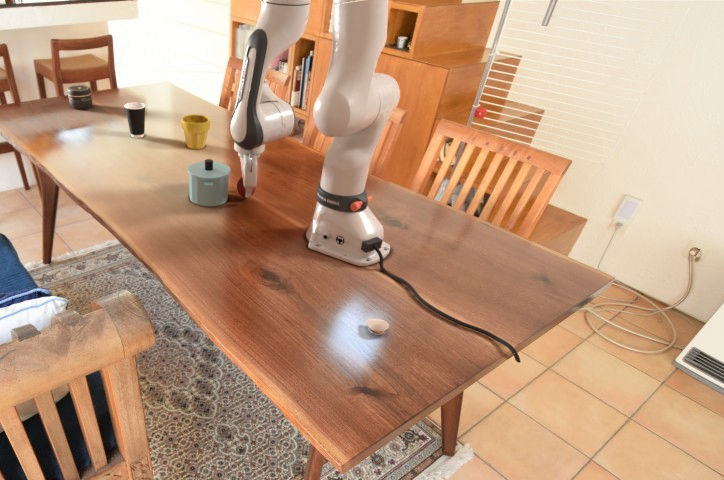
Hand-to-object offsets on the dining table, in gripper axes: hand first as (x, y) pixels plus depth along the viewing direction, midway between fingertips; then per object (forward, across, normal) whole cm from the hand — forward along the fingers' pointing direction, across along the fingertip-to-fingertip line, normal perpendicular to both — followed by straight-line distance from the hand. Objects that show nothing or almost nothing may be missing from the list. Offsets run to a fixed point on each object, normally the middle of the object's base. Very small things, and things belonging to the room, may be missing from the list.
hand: (247, 190), depth 147 cm
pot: (+3, 0, +12) cm, 12 cm away
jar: (+3, +91, +68) cm, 113 cm away
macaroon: (+3, -63, -24) cm, 67 cm away
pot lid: (-6, 0, +12) cm, 13 cm away
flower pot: (+3, +44, +16) cm, 47 cm away
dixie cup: (+3, +55, +39) cm, 67 cm away
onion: (+3, 0, 0) cm, 3 cm away
